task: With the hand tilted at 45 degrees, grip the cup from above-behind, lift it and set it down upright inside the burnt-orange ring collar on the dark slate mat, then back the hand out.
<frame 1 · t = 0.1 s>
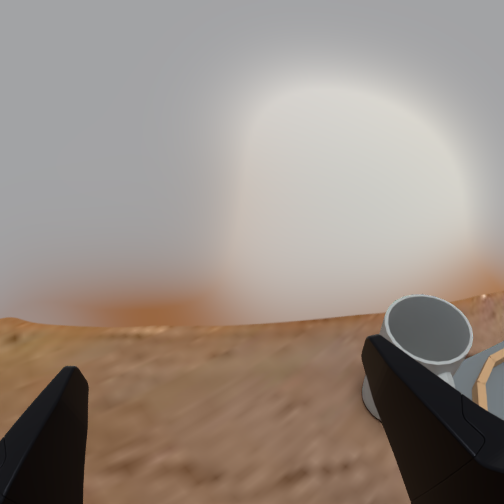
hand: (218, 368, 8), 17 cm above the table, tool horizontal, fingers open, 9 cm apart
cup: (401, 407, 22), on the table
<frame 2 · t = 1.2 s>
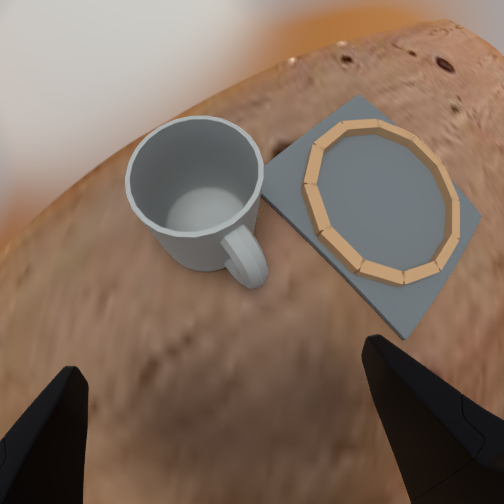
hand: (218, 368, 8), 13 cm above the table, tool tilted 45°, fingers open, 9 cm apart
collar mat: (384, 199, 25), on the table
cup: (217, 242, 24), on the table
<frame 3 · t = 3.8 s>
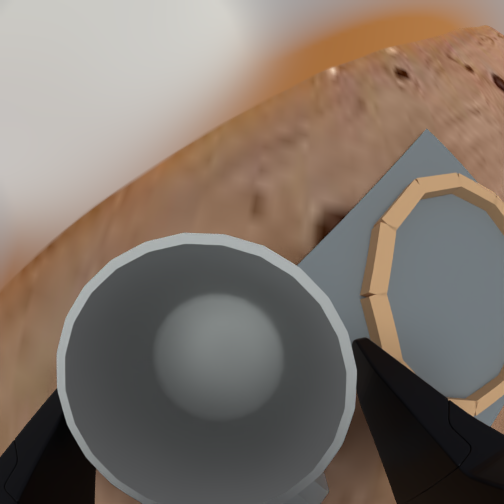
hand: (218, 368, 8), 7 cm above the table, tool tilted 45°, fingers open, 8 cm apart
collar mat: (460, 294, 16), on the table
cup: (234, 379, 15), on the table, touching gripper
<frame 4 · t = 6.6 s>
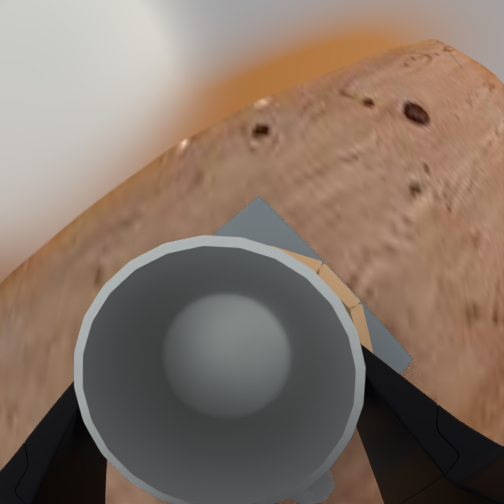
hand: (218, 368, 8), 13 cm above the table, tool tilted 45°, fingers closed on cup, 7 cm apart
collar mat: (263, 356, 21), on the table
cup: (241, 378, 15), point 6 cm above the table, touching gripper
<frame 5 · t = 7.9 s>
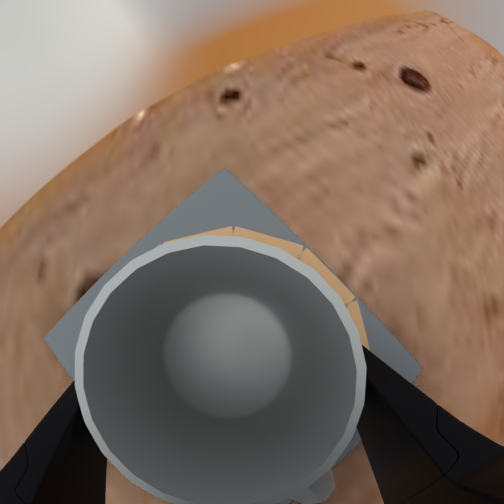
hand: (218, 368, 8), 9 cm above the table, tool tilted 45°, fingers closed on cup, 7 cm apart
collar mat: (231, 368, 17), on the table
cup: (242, 377, 15), point 2 cm above the table, touching gripper
when the fingers open (8 cm above the table, at t = 9.0 s): cup stays where it is, resting on collar mat.
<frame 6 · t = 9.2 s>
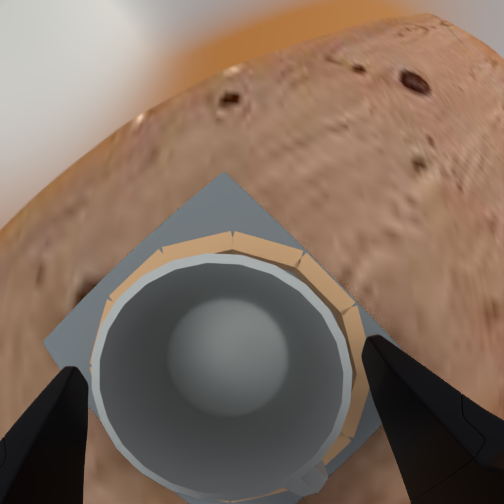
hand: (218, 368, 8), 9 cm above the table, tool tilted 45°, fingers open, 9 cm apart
collar mat: (230, 373, 16), on the table
cup: (242, 378, 16), resting on collar mat
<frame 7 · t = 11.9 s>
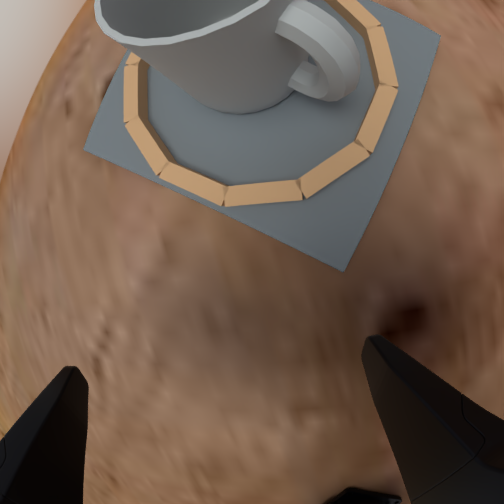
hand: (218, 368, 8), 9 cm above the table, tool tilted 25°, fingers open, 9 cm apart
collar mat: (254, 74, 15), on the table
cup: (265, 70, 15), resting on collar mat
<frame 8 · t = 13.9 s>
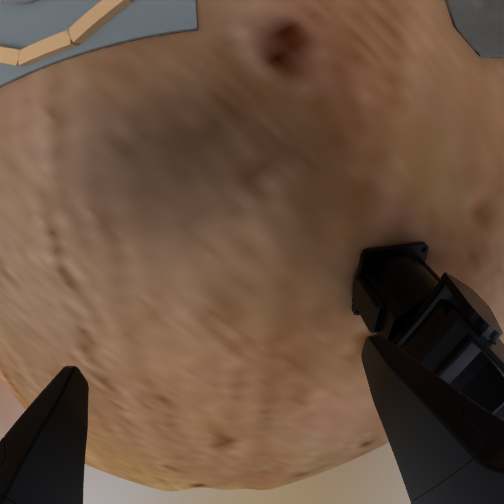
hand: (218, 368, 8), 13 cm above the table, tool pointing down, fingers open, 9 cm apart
coffeepot: (483, 8, 13), on the table
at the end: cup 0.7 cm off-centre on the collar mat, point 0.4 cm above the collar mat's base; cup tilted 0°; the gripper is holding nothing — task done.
